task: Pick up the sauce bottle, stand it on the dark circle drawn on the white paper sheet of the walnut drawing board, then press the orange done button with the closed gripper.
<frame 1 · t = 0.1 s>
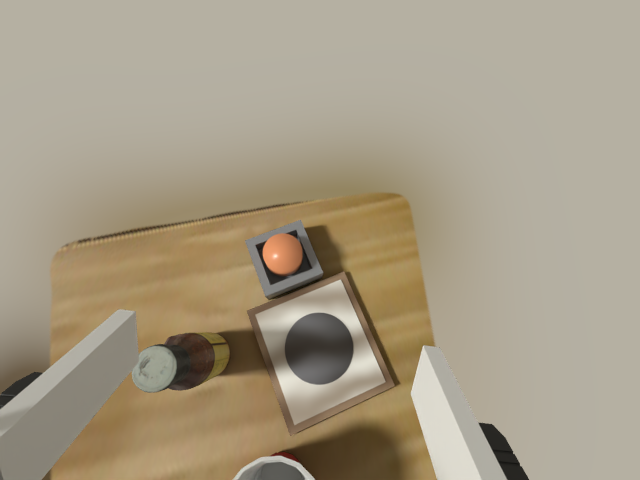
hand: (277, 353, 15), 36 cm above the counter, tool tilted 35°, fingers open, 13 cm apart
done button: (283, 255, 49), point 5 cm above the counter, slide at 0.0 cm
plastic cup: (280, 473, 45), on the counter
drawing board: (318, 347, 49), on the counter
sauce bottle: (211, 355, 49), on the counter
done button housing: (285, 262, 53), on the counter
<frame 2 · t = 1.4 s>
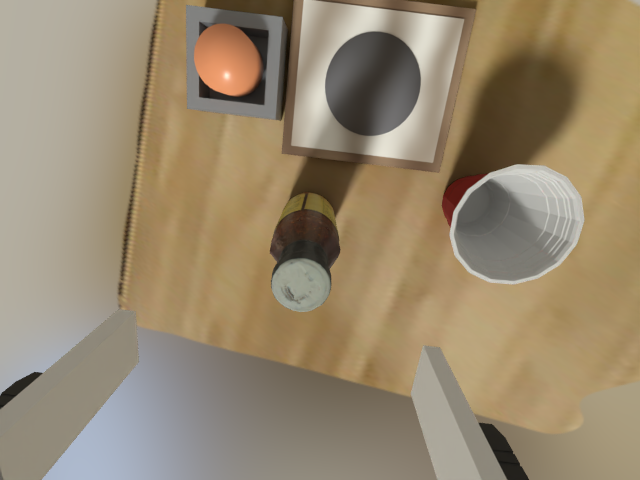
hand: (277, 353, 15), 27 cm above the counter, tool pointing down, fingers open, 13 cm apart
done button: (230, 63, 31), point 5 cm above the counter, slide at 0.0 cm
plastic cup: (463, 200, 40), on the counter
drawing board: (371, 87, 36), on the counter
sauce bottle: (310, 214, 41), on the counter
done button housing: (243, 71, 36), on the counter
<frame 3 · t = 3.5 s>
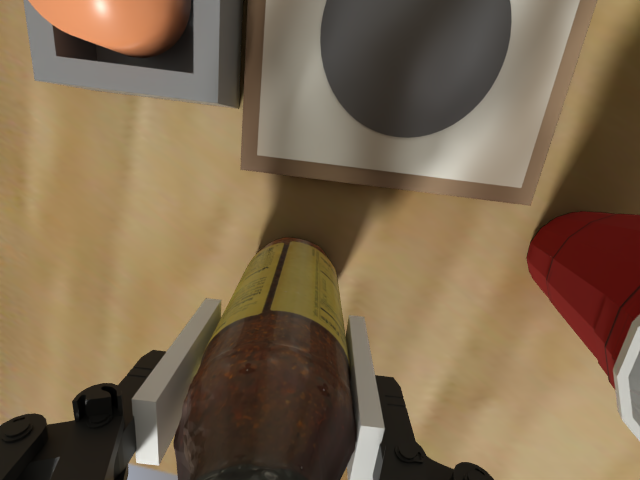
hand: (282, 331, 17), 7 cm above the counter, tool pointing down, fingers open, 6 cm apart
plastic cup: (563, 251, 23), on the counter
drawing board: (408, 45, 19), on the counter
sauce bottle: (296, 273, 24), on the counter, touching gripper
done button housing: (162, 13, 19), on the counter
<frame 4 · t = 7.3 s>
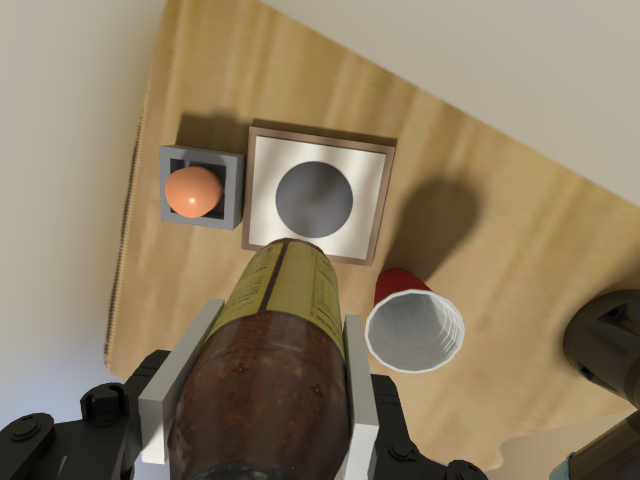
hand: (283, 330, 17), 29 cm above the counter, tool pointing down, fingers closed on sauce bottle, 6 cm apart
done button: (195, 190, 39), point 5 cm above the counter, slide at 0.0 cm
plastic cup: (393, 286, 48), on the counter
drawing board: (314, 199, 44), on the counter
sauce bottle: (296, 273, 24), point 22 cm above the counter, touching gripper
done button housing: (209, 184, 44), on the counter
when the fingers open (9 cm above the counter, at t = 10.9 s): sauce bottle drops 1 cm, resting on drawing board.
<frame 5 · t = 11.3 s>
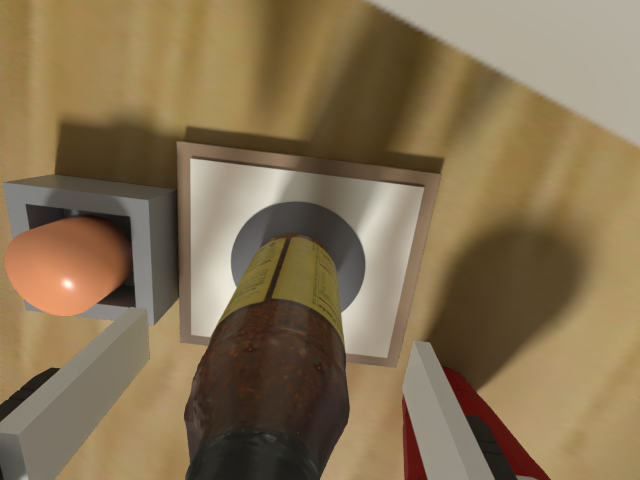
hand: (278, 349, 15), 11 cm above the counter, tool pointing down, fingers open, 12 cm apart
done button: (75, 262, 21), point 5 cm above the counter, slide at 0.0 cm
plastic cup: (431, 391, 30), on the counter
drawing board: (299, 261, 26), on the counter
sauce bottle: (297, 267, 25), point 1 cm above the counter, touching drawing board
done button housing: (119, 239, 26), on the counter
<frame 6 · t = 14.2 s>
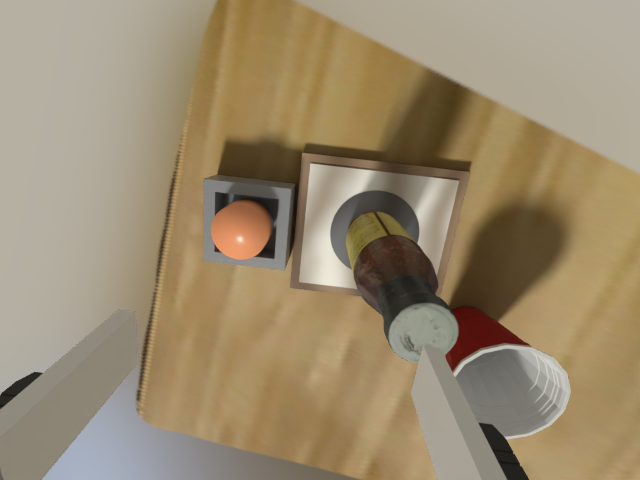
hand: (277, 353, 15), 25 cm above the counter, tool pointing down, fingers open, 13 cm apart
done button: (243, 228, 34), point 5 cm above the counter, slide at 0.0 cm
plastic cup: (461, 325, 42), on the counter
drawing board: (373, 231, 39), on the counter
sauce bottle: (374, 234, 38), point 1 cm above the counter, touching drawing board
done button housing: (254, 217, 39), on the counter
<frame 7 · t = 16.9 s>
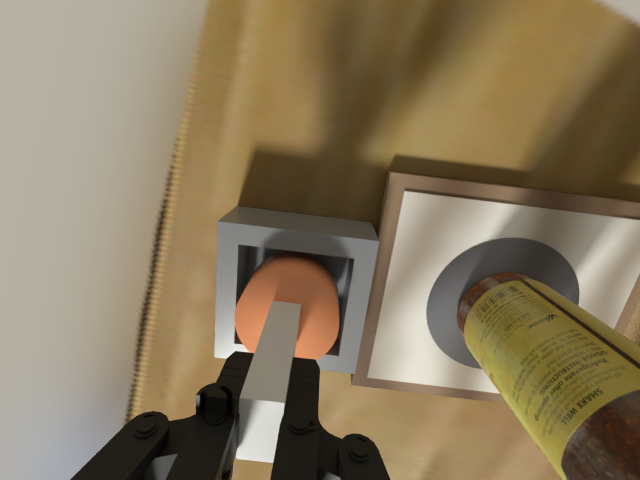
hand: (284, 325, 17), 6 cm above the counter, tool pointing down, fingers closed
done button: (290, 306, 19), point 4 cm above the counter, slide at 0.3 cm, touching gripper
drawing board: (492, 299, 24), on the counter
sauce bottle: (500, 307, 23), point 1 cm above the counter, touching drawing board
done button housing: (297, 275, 23), on the counter
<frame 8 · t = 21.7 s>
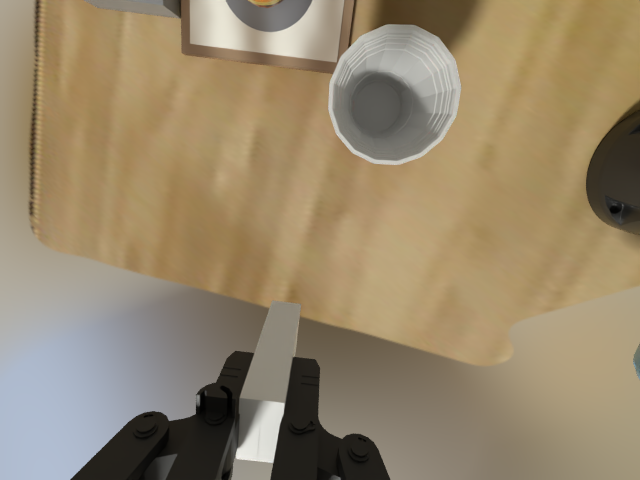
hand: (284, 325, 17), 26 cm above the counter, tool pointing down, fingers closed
plastic cup: (374, 108, 39), on the counter
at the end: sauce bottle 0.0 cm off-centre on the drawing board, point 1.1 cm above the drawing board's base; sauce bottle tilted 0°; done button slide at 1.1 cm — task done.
